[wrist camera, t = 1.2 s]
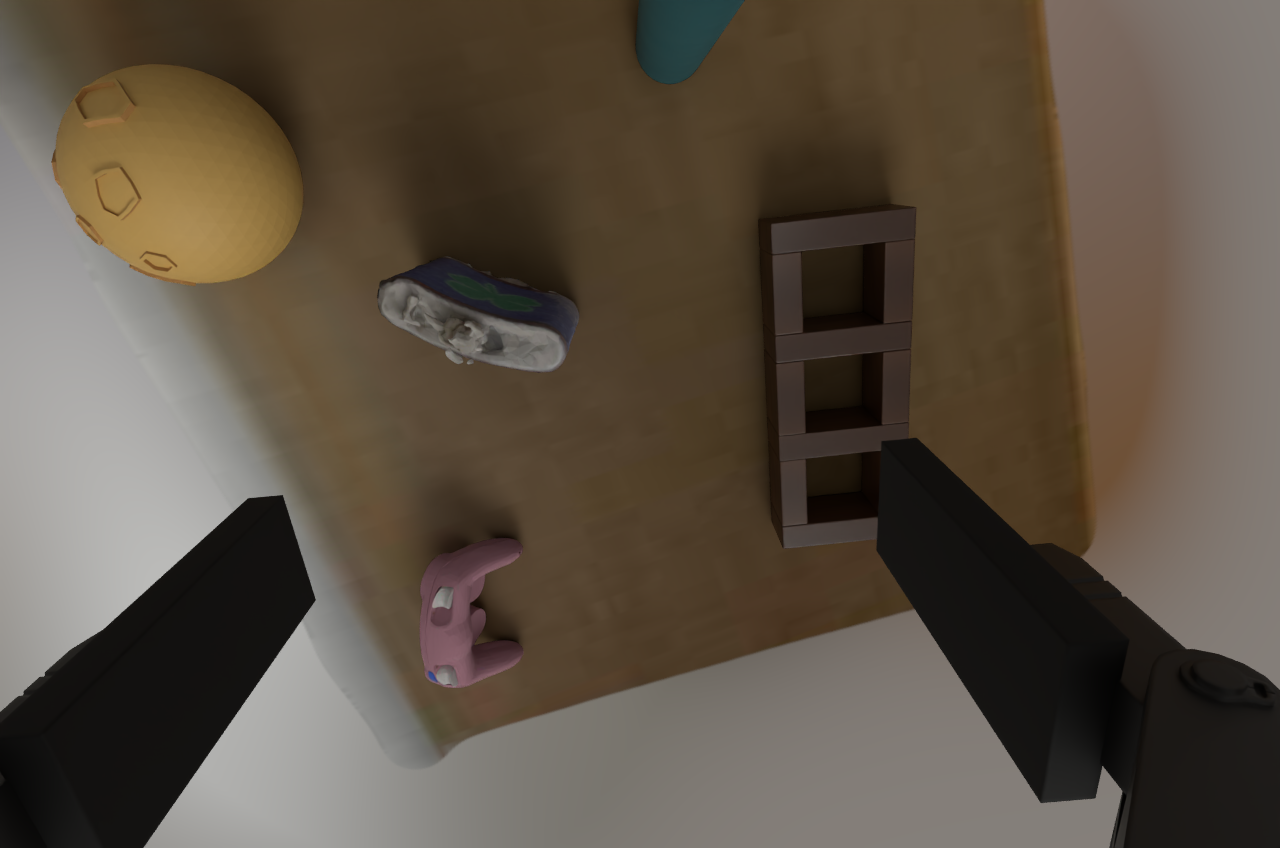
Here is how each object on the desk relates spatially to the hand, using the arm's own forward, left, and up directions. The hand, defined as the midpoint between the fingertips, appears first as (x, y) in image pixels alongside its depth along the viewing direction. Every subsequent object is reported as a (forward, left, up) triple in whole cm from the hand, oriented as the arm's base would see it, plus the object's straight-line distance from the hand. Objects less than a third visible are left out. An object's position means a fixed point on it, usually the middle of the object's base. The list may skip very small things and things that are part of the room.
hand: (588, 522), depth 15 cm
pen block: (+6, +13, -27) cm, 30 cm away
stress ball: (-9, -19, -27) cm, 34 cm away
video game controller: (+19, -11, -27) cm, 35 cm away
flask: (-1, -6, -27) cm, 28 cm away
